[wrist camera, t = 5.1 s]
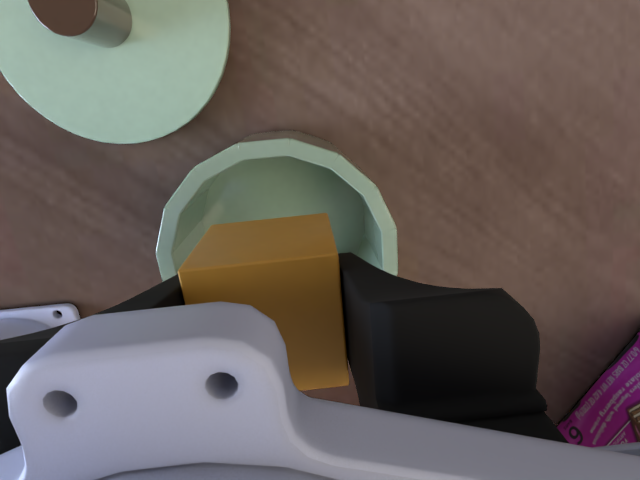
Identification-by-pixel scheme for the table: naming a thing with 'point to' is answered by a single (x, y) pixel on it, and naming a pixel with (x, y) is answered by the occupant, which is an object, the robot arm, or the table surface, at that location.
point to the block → (279, 287)
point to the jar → (279, 197)
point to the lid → (115, 62)
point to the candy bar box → (609, 405)
